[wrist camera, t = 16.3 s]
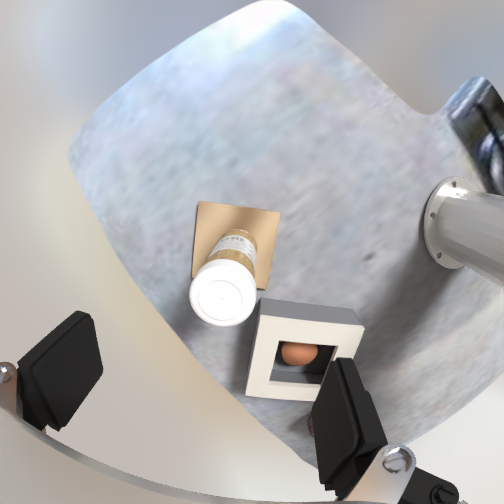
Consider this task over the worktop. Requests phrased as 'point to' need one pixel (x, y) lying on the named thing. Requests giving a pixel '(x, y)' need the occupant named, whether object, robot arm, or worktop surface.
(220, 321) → the sprinkles bottle
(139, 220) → the worktop surface
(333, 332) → the grey square open box
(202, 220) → the coaster
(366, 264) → the worktop surface
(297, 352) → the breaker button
